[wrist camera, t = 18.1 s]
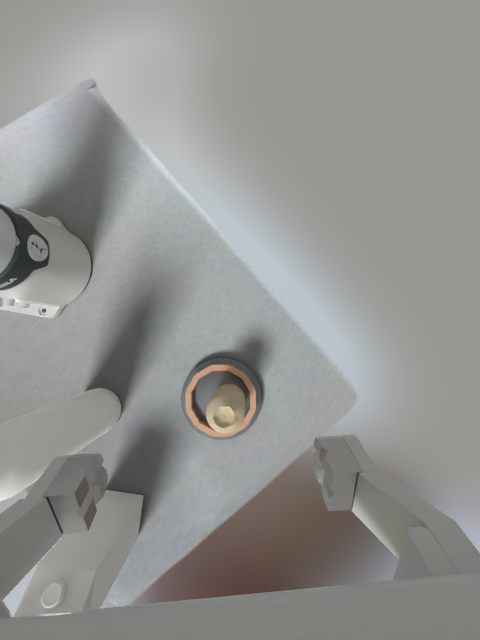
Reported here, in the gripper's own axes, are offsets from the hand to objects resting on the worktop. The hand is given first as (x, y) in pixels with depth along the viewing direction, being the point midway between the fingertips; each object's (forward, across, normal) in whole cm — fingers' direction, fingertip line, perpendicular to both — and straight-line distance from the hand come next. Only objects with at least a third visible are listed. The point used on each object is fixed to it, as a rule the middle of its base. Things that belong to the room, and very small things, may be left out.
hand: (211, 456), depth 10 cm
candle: (+30, 0, +21) cm, 37 cm away
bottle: (+33, +23, +23) cm, 46 cm away
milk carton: (+25, +20, +40) cm, 51 cm away
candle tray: (+32, +1, +21) cm, 38 cm away
